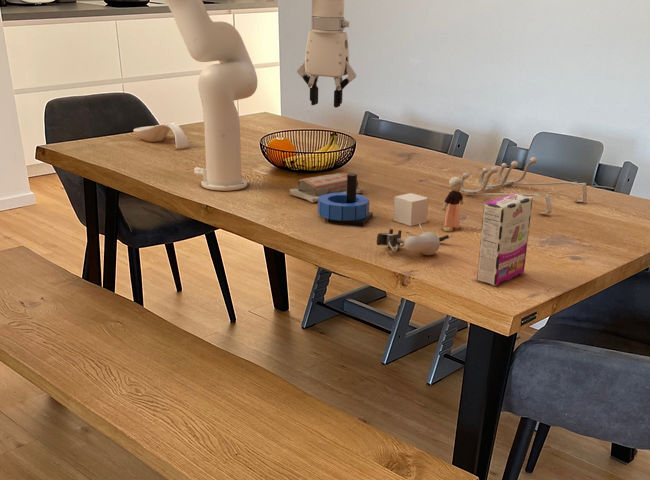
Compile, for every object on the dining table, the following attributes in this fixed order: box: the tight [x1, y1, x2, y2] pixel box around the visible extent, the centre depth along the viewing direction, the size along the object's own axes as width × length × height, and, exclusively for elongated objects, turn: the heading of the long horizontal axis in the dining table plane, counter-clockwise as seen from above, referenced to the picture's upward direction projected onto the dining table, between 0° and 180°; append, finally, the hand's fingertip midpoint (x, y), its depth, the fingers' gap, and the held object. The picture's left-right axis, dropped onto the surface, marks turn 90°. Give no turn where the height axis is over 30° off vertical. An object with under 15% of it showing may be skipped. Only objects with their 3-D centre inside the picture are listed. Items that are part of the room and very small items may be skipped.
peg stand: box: [327, 172, 374, 228], centre depth 201 cm, size 9×9×11 cm
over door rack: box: [460, 156, 588, 215], centre depth 226 cm, size 22×29×10 cm
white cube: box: [392, 192, 430, 227], centre depth 203 cm, size 6×6×6 cm
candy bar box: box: [476, 192, 534, 287], centre depth 167 cm, size 11×5×16 cm, turn 138°
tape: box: [317, 193, 370, 221], centre depth 203 cm, size 12×12×4 cm
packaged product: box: [289, 172, 364, 203], centre depth 223 cm, size 18×5×10 cm
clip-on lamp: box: [376, 223, 453, 256], centre depth 183 cm, size 12×6×18 cm
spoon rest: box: [132, 122, 189, 150], centre depth 272 cm, size 24×12×7 cm, turn 47°
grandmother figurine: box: [441, 175, 465, 232], centre depth 197 cm, size 8×4×13 cm, turn 148°
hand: (325, 104), depth 202 cm, fingers open, 5 cm apart
